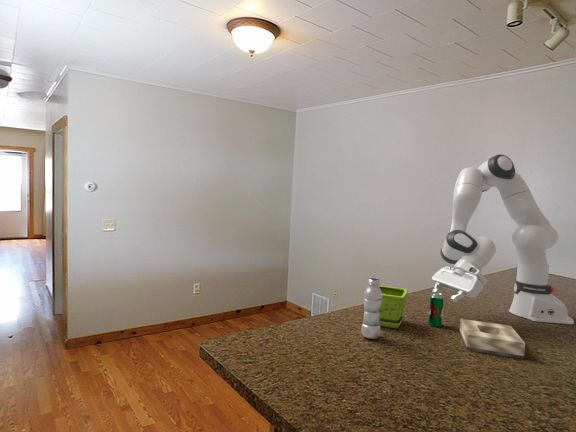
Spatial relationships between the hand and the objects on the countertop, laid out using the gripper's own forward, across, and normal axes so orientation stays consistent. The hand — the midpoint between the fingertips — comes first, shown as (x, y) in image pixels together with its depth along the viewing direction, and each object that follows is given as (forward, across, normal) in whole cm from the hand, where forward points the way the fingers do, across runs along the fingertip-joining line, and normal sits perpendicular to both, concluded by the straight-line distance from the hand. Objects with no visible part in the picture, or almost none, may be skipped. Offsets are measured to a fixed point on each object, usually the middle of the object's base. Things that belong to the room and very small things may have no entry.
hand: (443, 297), depth 139 cm
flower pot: (+23, -5, -8) cm, 25 cm away
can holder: (+6, +20, +8) cm, 23 cm away
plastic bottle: (+33, +6, -18) cm, 37 cm away
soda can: (+10, +1, +5) cm, 11 cm away
